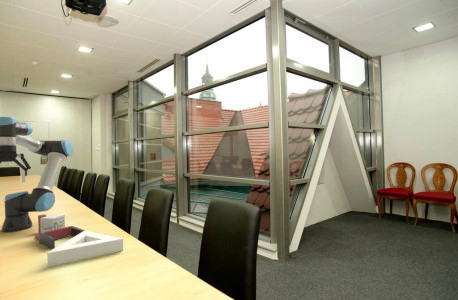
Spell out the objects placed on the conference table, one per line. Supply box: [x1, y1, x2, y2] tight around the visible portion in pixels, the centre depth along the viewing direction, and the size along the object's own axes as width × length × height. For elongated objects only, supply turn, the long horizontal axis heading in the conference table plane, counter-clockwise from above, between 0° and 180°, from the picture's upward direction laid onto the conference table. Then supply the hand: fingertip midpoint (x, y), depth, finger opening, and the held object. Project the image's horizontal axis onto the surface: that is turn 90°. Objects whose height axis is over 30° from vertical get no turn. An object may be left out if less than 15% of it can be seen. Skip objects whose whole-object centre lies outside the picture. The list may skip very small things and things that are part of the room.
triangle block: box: [46, 230, 124, 267], centre depth 127 cm, size 30×26×6 cm
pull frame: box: [34, 214, 71, 240], centre depth 149 cm, size 24×12×10 cm, turn 54°
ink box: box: [40, 213, 66, 233], centre depth 146 cm, size 9×8×12 cm
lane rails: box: [38, 225, 86, 250], centre depth 139 cm, size 16×16×5 cm
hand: (8, 183), depth 141 cm, fingers open, 13 cm apart
